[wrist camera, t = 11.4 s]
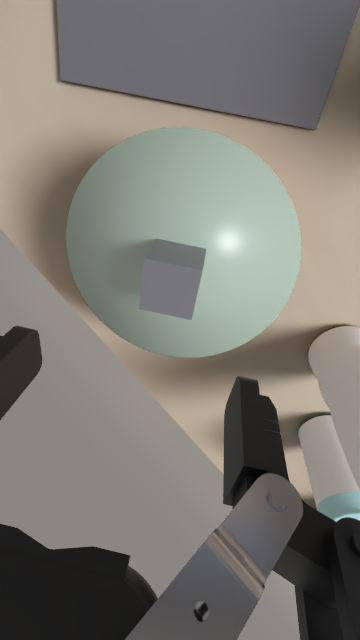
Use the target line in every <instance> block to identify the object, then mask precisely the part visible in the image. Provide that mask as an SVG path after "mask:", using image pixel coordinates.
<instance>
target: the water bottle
mask: <svg viewBox="0 0 360 640" xmlns="http://www.w3.org/2000/svg"><path fill="white" fill-rule="evenodd" d="M308 359H309V363H310V366H311V368H312V371H313V373H314V375H315V377H316V379H317V380H318V384H319V388H320V391H321V394H322V397H323V399H324V401H325V403H326V404H327V406H328V407H329V409H330V413H331V417H332V420H333V424H334V427H335V430H336V433H337V436H338V438H339V441H340V444H341V447H342V449H343V452H344V454H345V457H346V460H347V462H348V465H349V467H350V470H351V472H352V474H353V477H354V479H355V481H356V484H357V486H358V488H359V490H360V328H359V327H354V326H342V327H337V328H333V329H330V330H328V331H326V332H324V333H322V334H321V335H320V336H318V337H317V338H316V339H315V340H314V342H313V343H312V344H311V346H310V349H309V353H308Z"/></svg>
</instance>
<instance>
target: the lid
mask: <svg viewBox="0 0 360 640" xmlns="http://www.w3.org/2000/svg"><path fill="white" fill-rule="evenodd" d="M66 249H67V257H68V261H69V266H70V270H71V273H72V276H73V278H74V281H75V283H76V286H77V288H78V290H79V291H80V293H81V295H82V297H83V299H84V300H85V302H86V303H87V305H88V306H89V308H90V309H91V310H92V311H93V312H94V314H95V315H96V316H97V317H98V318H99V319H100V320H101V321H102V322H103V323H104V324H105V325H106V326H107V327H108V328H109V329H111V330H112V331H113V332H114V333H116V334H117V335H118V336H120V337H122V338H123V339H125V340H126V341H128V342H130V343H132V344H134V345H136V346H138V347H140V348H143V349H145V350H148V351H150V352H154V353H158V354H161V355H166V356H172V357H184V358H193V357H205V356H212V355H216V354H220V353H224V352H227V351H229V350H232V349H234V348H237V347H239V346H241V345H243V344H245V343H246V342H248V341H250V340H251V339H253V338H254V337H256V336H257V335H259V334H260V333H261V332H262V331H263V330H264V329H266V328H267V327H268V326H269V325H270V324H271V323H272V322H273V320H274V319H275V318H276V317H277V316H278V315H279V313H280V312H281V310H282V309H283V307H284V306H285V305H286V303H287V301H288V299H289V297H290V295H291V293H292V291H293V288H294V285H295V283H296V280H297V277H298V272H299V267H300V262H301V235H300V227H299V223H298V219H297V215H296V211H295V209H294V206H293V204H292V201H291V199H290V196H289V195H288V193H287V191H286V190H285V188H284V186H283V184H282V183H281V181H280V180H279V178H278V177H277V176H276V175H275V174H274V172H273V171H272V170H271V169H270V167H269V166H268V165H267V164H266V163H265V162H263V161H262V160H261V159H260V158H259V157H258V156H257V155H256V154H255V153H253V152H252V151H250V150H249V149H247V148H246V147H244V146H243V145H241V144H240V143H238V142H236V141H234V140H232V139H229V138H227V137H225V136H223V135H221V134H217V133H214V132H210V131H206V130H203V129H196V128H187V127H170V128H160V129H155V130H150V131H146V132H143V133H140V134H138V135H135V136H132V137H130V138H127V139H126V140H124V141H122V142H121V143H119V144H117V145H115V146H114V147H112V148H111V149H110V150H108V151H107V152H106V153H105V154H104V155H102V156H101V157H100V158H99V159H98V160H97V161H96V162H95V163H94V164H93V166H92V167H91V168H90V169H89V170H88V171H87V173H86V174H85V176H84V178H83V179H82V181H81V182H80V184H79V186H78V188H77V190H76V192H75V194H74V197H73V199H72V202H71V206H70V209H69V213H68V218H67V225H66Z"/></svg>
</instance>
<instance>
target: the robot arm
mask: <svg viewBox="0 0 360 640" xmlns="http://www.w3.org/2000/svg"><path fill="white" fill-rule="evenodd" d="M41 364H42V354H41V347H40V339H39V334H38V331H36V330H33V329H29V328H24V327H20V326H15V327H13V328H12V329H11V330H10V331H9V332H7V333H6V334H5V335H4V336H0V420H1V418H2V417H3V416H4V415H5V413H6V412H7V411H8V410H9V409H10V407H11V406H12V405H13V403H14V402H15V401H16V400H17V399H18V397H19V396H20V395H21V394H22V392H23V391H24V390H25V389H26V387H27V386H28V385H29V384H30V383H31V381H32V380H33V379H34V378H35V376H36V375H37V374H38V372H39V370H40V368H41ZM223 498H224V499H223V504H226V505H230V506H233V510H232V511H231V512H230V514H229V515H228V516H227V517H226V519H225V520H224V521H223V522H222V523H221V525H220V526H219V527H218V528H217V529H216V530H214V531H213V532H212V533H211V534H210V535H209V537H208V538H207V539H206V540H205V542H204V543H203V544H202V545H201V546H200V548H199V549H198V550H197V551H196V553H195V554H194V555H193V556H192V557H191V559H190V560H189V561H188V562H187V564H186V565H185V566H184V567H183V569H182V570H181V571H180V572H179V574H178V575H177V576H176V577H175V578H174V580H173V581H172V582H171V583H170V585H169V586H168V587H167V588H166V590H165V591H164V592H163V593H162V594H161V596H160V597H159V598H157V596H156V594H155V593H154V591H153V590H152V588H151V586H150V585H149V584H148V583H147V581H146V580H145V579H144V578H143V577H142V576H141V575H140V574H139V573H138V572H136V571H135V570H134V569H132V568H131V567H130V566H128V563H129V558H130V556H129V555H126V554H122V553H118V552H113V551H109V550H105V549H101V548H97V547H81V548H68V549H55V550H51V549H48V548H46V547H44V546H43V545H42V544H40V543H38V542H37V541H35V540H34V539H33V538H31V537H30V536H28V535H27V534H25V533H24V532H22V531H21V530H19V529H18V528H15V527H11V526H7V525H3V524H0V640H237V638H238V637H239V635H240V633H241V631H242V630H243V628H244V626H245V624H246V622H247V621H248V619H249V617H250V615H251V614H252V612H253V610H254V608H255V606H256V605H257V603H258V601H259V599H260V597H261V595H262V593H263V590H264V587H265V586H264V584H265V582H266V580H267V578H268V576H269V574H270V572H271V571H272V570H273V571H275V572H276V573H278V574H279V575H281V576H282V577H284V578H285V579H287V580H288V581H289V582H291V583H292V584H294V585H295V593H296V603H297V612H298V622H299V631H300V640H360V521H359V520H357V519H355V518H350V517H345V518H341V519H340V520H338V521H337V522H336V521H334V520H333V519H331V518H329V517H327V516H326V515H324V514H322V513H321V512H319V511H317V510H315V509H314V508H312V507H310V506H309V505H308V504H306V503H305V502H304V501H303V500H302V499H301V497H300V495H299V493H298V492H297V490H296V489H295V487H294V486H293V485H292V484H291V483H290V481H289V478H288V473H287V468H286V462H285V456H284V451H283V445H282V440H281V435H280V428H279V424H278V417H277V411H276V408H275V406H274V405H273V403H272V402H271V400H270V398H269V397H267V396H263V395H260V393H259V385H258V381H257V380H254V379H249V378H245V377H240V376H237V378H236V380H235V383H234V385H233V388H232V391H231V393H230V396H229V398H228V401H227V404H226V409H225V416H224V494H223Z"/></svg>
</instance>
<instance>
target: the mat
mask: <svg viewBox="0 0 360 640" xmlns="http://www.w3.org/2000/svg"><path fill="white" fill-rule="evenodd" d="M359 5H360V0H56V6H57V26H58V46H59V66H60V80H62V81H66V82H71V83H76V84H81V85H86V86H91V87H96V88H102V89H107V90H112V91H117V92H122V93H127V94H132V95H137V96H143V97H148V98H153V99H158V100H163V101H168V102H173V103H178V104H184V105H189V106H194V107H199V108H204V109H209V110H214V111H219V112H225V113H230V114H235V115H240V116H245V117H250V118H255V119H260V120H265V121H271V122H276V123H281V124H286V125H291V126H296V127H301V128H306V129H312V130H316V127H317V124H318V121H319V118H320V116H321V113H322V110H323V107H324V104H325V101H326V99H327V96H328V93H329V90H330V87H331V85H332V82H333V79H334V76H335V73H336V70H337V68H338V65H339V62H340V59H341V56H342V53H343V51H344V48H345V45H346V42H347V39H348V37H349V34H350V31H351V28H352V25H353V22H354V20H355V17H356V14H357V11H358V8H359Z"/></svg>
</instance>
